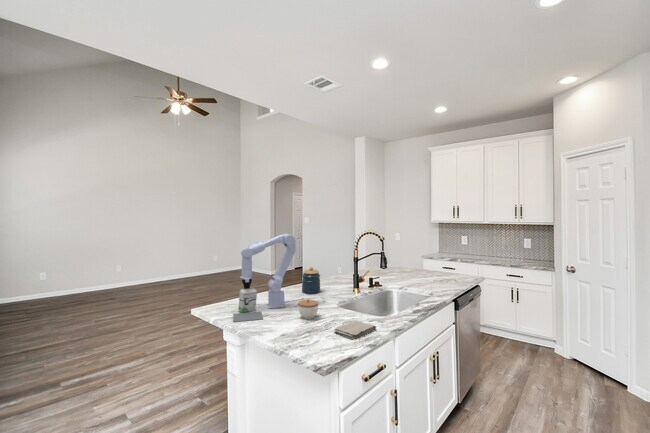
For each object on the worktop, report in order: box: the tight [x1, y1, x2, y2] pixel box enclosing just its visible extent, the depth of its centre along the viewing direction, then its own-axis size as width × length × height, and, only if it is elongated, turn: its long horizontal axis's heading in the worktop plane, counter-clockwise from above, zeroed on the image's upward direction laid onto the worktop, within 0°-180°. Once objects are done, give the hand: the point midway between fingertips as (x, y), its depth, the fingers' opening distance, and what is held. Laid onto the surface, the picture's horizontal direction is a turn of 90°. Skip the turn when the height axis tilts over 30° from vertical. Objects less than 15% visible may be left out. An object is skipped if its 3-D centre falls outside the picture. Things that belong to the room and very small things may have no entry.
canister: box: [301, 266, 321, 295], centre depth 219 cm, size 13×13×18 cm
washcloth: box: [334, 320, 377, 340], centre depth 146 cm, size 12×18×3 cm, turn 136°
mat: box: [232, 311, 264, 323], centre depth 166 cm, size 15×12×1 cm
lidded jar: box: [297, 298, 319, 320], centre depth 167 cm, size 11×11×9 cm
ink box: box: [238, 287, 258, 313], centre depth 176 cm, size 9×5×12 cm, turn 126°
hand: (246, 292), depth 179 cm, fingers closed
